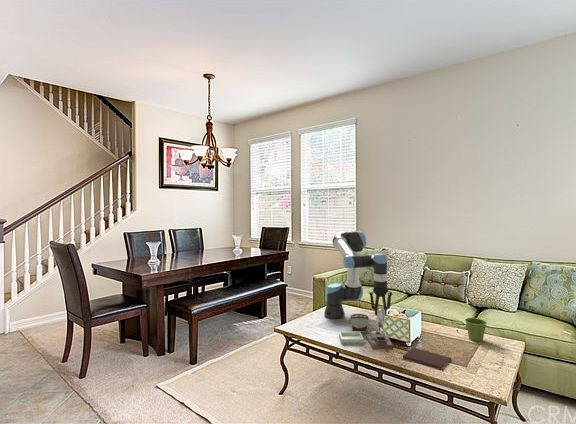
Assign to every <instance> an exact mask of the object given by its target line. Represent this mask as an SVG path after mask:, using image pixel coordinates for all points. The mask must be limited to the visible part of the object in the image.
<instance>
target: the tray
mask: <svg viewBox="0 0 576 424" xmlns="http://www.w3.org/2000/svg"><path fill="white" fill-rule="evenodd" d="M338 337H339V341H340V344H341V345H364V343H365V342H364V341H365V339H364V337H363V334H362V333H361V332H352V331H339V332H338Z"/></svg>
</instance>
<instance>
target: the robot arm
mask: <svg viewBox="0 0 576 424" xmlns="http://www.w3.org/2000/svg"><path fill="white" fill-rule="evenodd" d="M332 246H333V247H334V248H335V250H337V251H338V252H339V254H340V255H341V256H342V259H343V260H342V262H343V267H344V268H346V269H347V274H346V275H347V276H346V280H345V282H344V285H343V284H342V283H337V282H336V283H335V282H334V283H330V284H329V285H327V286H326V288H325V293H326V295H325V296H326V297H325V298H326V299H325V300H326V305H325V308H324V313H323V316H324V317H325V318H327V319H334V320H335V319H336V320H339V319H343V318H344V317H345V315H346V313H345V310H344V307H343V302H357V301H358V302H359V301H361V300H362V298H363V296H364V289H363V286H362V284H361V283H360V280H359V279H360V268H361V269H364V268H366V269H367V268H373V289H372V290H371V291H369V290H368V294H369V298H370V307H371V309H372V310H374V315H375V316H376V321H377V323H378V322H379V310H378V309H379V299H380V297H381V298H382V306H383V307H382V309H383V323H384V322H386V316H387V314H388V313H387V311H388V310H390V309H391V300H392V295H393V292H392V291H391V290H388V258H387V257H388V256H387V254H385V253H381V252H380V253H379V252H378V253H368V254H362V255H361V253H362V251H363V249H364V248H365V247H367V239H366V235H365V233H364V232H363V231H360V230H353V231H349V230H347V231H345V230H344V231H340V232H337V233H336V234H334V236H333V238H332ZM374 294H375V301H374ZM386 295H387V300H386Z"/></svg>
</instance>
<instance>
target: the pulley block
mask: <svg viewBox="0 0 576 424" xmlns="http://www.w3.org/2000/svg"><path fill="white" fill-rule="evenodd" d="M382 332H383V331H379V330H374V331H371V332H370V334H368V333H366V335H365V338H366V340H367V341H368V344H369V346H370V348H371V349H375V348H376V349H377V348H391V349H394V344H393V343H392V342H391V339H390V338H389V336H387V337H385V334H386V333H385V332H383V333H382ZM377 350H378V349H377Z"/></svg>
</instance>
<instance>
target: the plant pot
mask: <svg viewBox="0 0 576 424" xmlns="http://www.w3.org/2000/svg"><path fill="white" fill-rule="evenodd" d="M464 321H465V324H466V329H467V334H468V339H469V340H470V341H473V342H479V343H480V342H483V340H484V336H485V330H486V328H487V325H488V321H486V320H484V319H482V318H476V317H466V318H464Z"/></svg>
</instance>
